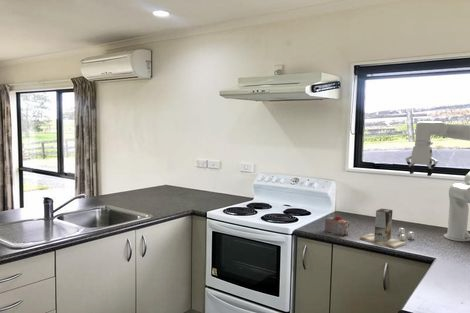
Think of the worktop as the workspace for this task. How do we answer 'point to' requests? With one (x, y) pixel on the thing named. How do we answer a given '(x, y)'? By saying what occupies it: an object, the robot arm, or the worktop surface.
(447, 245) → the worktop surface
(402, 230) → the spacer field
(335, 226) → the food item
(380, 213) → the coffee box
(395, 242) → the board
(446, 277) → the worktop surface
